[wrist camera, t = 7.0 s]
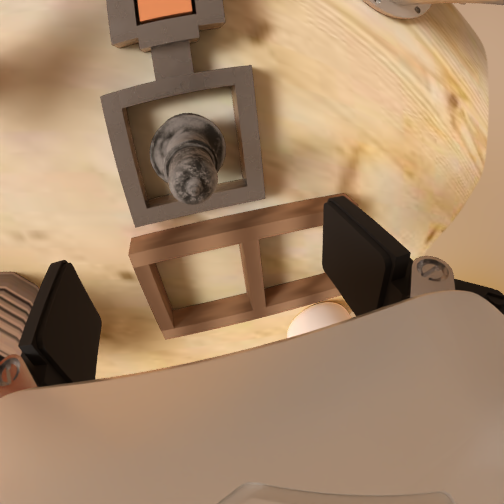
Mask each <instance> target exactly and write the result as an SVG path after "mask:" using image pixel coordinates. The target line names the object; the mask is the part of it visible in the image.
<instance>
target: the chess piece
mask: <svg viewBox="0 0 504 504" xmlns="http://www.w3.org/2000/svg"><path fill="white" fill-rule="evenodd" d="M225 155H226V145H225V140H224V137H223V135H222V133H221V131H220V129H219V128H218V127H217V126H216V125H215V124H214V123H213V122H211V121H210V120H208V119H206V118H204V117H201V116H199V115H196V114H192V113H183V114H179V115H176V116H174V117H172V118H170V119H168V120H167V121H166V122H165V123H164V124H163V125H162V126H161V127H160V128H159V129H158V130H157V132H156V134H155V135H154V137H153V139H152V142H151V146H150V160H151V163H152V167H153V169H154V170H155V172H156V173H157V175H158V176H159V177H160V178H161V179H163V180H164V181H165V182H167V183H169V188H170V191H171V193H172V194H173V196H174V197H175V198H176V199H177V200H178V201H179V202H182V203H184V204H188V205H196V204H200V203H203V202H204V201H206V200H208V199H209V198H210V197H211V196H212V194H213V193H214V191H215V189H216V186H217V182H218V176H217V173H218V171H219V170H220V168H221V167H222V165H223V162H224V159H225Z"/></svg>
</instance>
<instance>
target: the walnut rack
mask: <svg viewBox="0 0 504 504" xmlns="http://www.w3.org/2000/svg"><path fill="white" fill-rule="evenodd" d="M338 196H345V197H346V198H348V199H349V200H350V201H351V202H353V203H354V204H355V205H356V206H357V207H358V204H356V203H355V202H354V201H353V200H352V199H350V198H349V197H348V196H347V195H346V194H344V193H342V194H336V195H330V196H325V197H319V198H314V199H309V200H303V201H298V202H293V203H288V204H282V205H277V206H272V207H267V208H262V209H258V210H253V211H248V212H243V213H238V214H234V215H229V216H224V217H220V218H215V219H211V220H206V221H202V222H197V223H193V224H188V225H184V226H180V227H175V228H171V229H167V230H163V231H159V232H154V233H150V234H146V235H142V236H138V237H134V238H131V243H130V249H129V258H130V260H131V263H132V265H133V268H134V270H135V273H136V275H137V278H138V280H139V282H140V285H141V287H142V289H143V292H144V294H145V296H146V299H147V301H148V303H149V305H150V308H151V310H152V312H153V314H154V316H155V319H156V321H157V323H158V325H159V327H160V329H161V331H162V333H163V335H164V338H165V340H166V339H171V338H175V337H180V336H185V335H190V334H194V333H199V332H203V331H208V330H212V329H217V328H221V327H225V326H229V325H234V324H238V323H242V322H246V321H250V320H254V319H258V318H262V317H266V316H269V315H273V314H277V313H281V312H284V311H288V310H292V309H295V308H299V307H303V306H306V305H310V304H313V303H317V302H320V301H324V300H327V299H330V298H334V297H337V296H340V295H341V294H340V292H339V291H338V289H337V288H336V287H335V285H334V284H333V282H332V281H331V280H330V278H329V277H328V276H327V274H326V273H323V274H320V275H316V276H312V277H308V278H304V279H301V280H297V281H293V282H289V283H285V284H281V285H277V286H273V287H269V288H265V289H264V284H263V275H262V265H261V256H260V247H259V239H262V238H267V237H271V236H276V235H280V234H285V233H290V232H294V231H299V230H303V229H308V228H312V227H317V226H322V225H323V207H324V203H327V201H328V199H329V198H333V197H338ZM236 244H239V246H240V253H241V259H242V266H243V272H244V278H245V285H246V291H247V293H245V294H241V295H237V296H232V297H228V298H224V299H220V300H215V301H211V302H207V303H202V304H198V305H194V306H189V307H185V308H180V309H175V310H173V309H172V307H171V304H170V302H169V299H168V296H167V294H166V291H165V288H164V286H163V283H162V280H161V278H160V275H159V272H158V269H157V267H156V264H155V263H157V262H161V261H166V260H170V259H174V258H179V257H183V256H187V255H192V254H196V253H200V252H205V251H209V250H213V249H218V248H222V247H227V246H231V245H236Z"/></svg>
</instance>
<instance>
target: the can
mask: <svg viewBox="0 0 504 504" xmlns="http://www.w3.org/2000/svg"><path fill="white" fill-rule="evenodd" d="M38 291H39V288H38V286H37V285H35V284H33V283H31V282H30V281H28V280H26V279H25V278H23V277H21V276H20V275H18V274H16V273H15V272H0V362H1V361H2V360H3V359H4V358H5V357H7V356H9V355H11V354H17V355H20V356H21V353H22V351H21V350H20V348H19V347H18V344H19V341H20V338H21V335H22V333H23V330H24V327H25V324H26V321H27V319H28V316H29V313H30V311H31V308H32V306H33V303H34V301H35V298H36V296H37V293H38Z"/></svg>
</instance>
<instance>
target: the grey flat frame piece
mask: <svg viewBox="0 0 504 504" xmlns="http://www.w3.org/2000/svg"><path fill="white" fill-rule="evenodd" d="M106 1H107V11H108V20H109V28H110V35H111V42H112V45H113V46H115V47H117V48H122V47H125V46H129V45H132V44H136V43H139V47H140V50H141V51H143V52H148V51H151V53H152V60H153V66H154V72H155V78H156V81H154V82H150V83H146V84H142V85H138V86H134V87H130V88H127V89H123V90H120V91H117V92H113V93H110V94H107V95H104V96H101V97H100V98H101V103H102V107H103V112H104V116H105V121H106V125H107V129H108V134H109V138H110V142H111V146H112V150H113V154H114V157H115V161H116V165H117V168H118V172H119V176H120V179H121V183H122V186H123V189H124V193H125V196H126V199H127V203H128V206H129V209H130V212H131V215H132V218H133V221H134V225H135V228H136V227H140V226H144V225H148V224H152V223H156V222H160V221H164V220H168V219H173V218H177V217H181V216H186V215H190V214H194V213H199V212H203V211H208V210H212V209H217V208H222V207H226V206H231V205H236V204H241V203H246V202H251V201H256V200H261V199H265V188H264V178H263V168H262V158H261V148H260V138H259V128H258V119H257V110H256V100H255V91H254V82H253V74H252V65H249V66H240V67H231V68H224V69H216V70H210V71H203V72H198V73H194V71H193V64H192V57H191V50H190V43H192V42H197V41H198V39H199V38H200V36H199V31H201V30H208V29H216V28H220V27H221V26H222V25H223V24H224V23H225V15H224V8H223V0H191V1H192V8H193V15H187V16H181V17H175V18H170V19H165V20H160V21H155V22H151V23H146V24H142V25H140V21H139V13H138V5H137V0H106ZM224 86H231V92H232V99H233V107H234V115H235V123H236V131H237V138H238V146H239V154H240V162H241V169H242V177H243V179H240V180H235V181H230V182H225V183H220V184H217V186H216V189H215V191H214V193H213V194H212V196H211V197H210V198H209V199H208V200H206V201H204V202H203V203H200V204H196V205H188V204H184V203H182V202H179V201H178V200H177V199H176V198H175V197H174V196H173V194H170V195H166V196H162V197H157V198H153V199H149V200H148V197H147V194H146V190H145V186H144V182H143V179H142V175H141V171H140V167H139V163H138V159H137V155H136V151H135V147H134V142H133V138H132V134H131V129H130V125H129V120H128V115H127V111H126V107H129V106H133V105H136V104H140V103H144V102H148V101H152V100H156V99H160V98H165V97H169V96H174V95H178V94H183V93H188V92H194V91H199V90H205V89H211V88H217V87H224Z"/></svg>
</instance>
